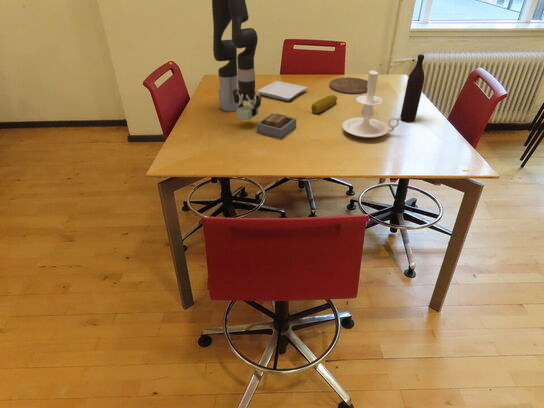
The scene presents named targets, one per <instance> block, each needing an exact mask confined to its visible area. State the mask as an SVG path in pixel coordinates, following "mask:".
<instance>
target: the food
mask: <svg viewBox="0 0 544 408" xmlns="http://www.w3.org/2000/svg"><path fill="white" fill-rule="evenodd" d="M337 100H338V97H337V96H336V95H335V94H334V95H333V94H332V95H326V96H325V97H323V98H320V99H318V100H316V101H314V102H313V103H312V104H311V107H310V108H311V112H312V113H313V114H320V113H322V112H323V111H325V110H327V109H329V108H330V107H331V106H333V105H334V104H336V103H337Z"/></svg>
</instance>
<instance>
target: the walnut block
mask: <svg viewBox="0 0 544 408" xmlns="http://www.w3.org/2000/svg"><path fill="white" fill-rule="evenodd" d="M287 117H288V115H285V114H281V113H278V112H277V113H276V112H275V113H274V115H272V116H271V117H269V118H268V119H266V125H268V126H272V127H276V128H280V129H281V128H282V127H283V126H285V125H286V124H287Z"/></svg>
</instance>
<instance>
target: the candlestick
mask: <svg viewBox="0 0 544 408" xmlns="http://www.w3.org/2000/svg"><path fill="white" fill-rule="evenodd" d="M378 75H379V72H378V71H376V70H368V76H367V81H368V85H367V88H368V90H367V93H366V94H364V95H363V94H361V95H358V96H357V97H356V98H355V101H357V102H358V103H360V104H362V105H364V106H363V107H362V108H361V110H360V115H361V117H352V118H347V119H346V120H345V121H343V122H342V124H341V127H342V128H343V131H345V132H347V133H348V134H351V136H354V137H357V138H363V139H374V138H377V137H381V136H384V135H386V134H388V133H389V132H393V131H394V130H395V128H397V127H398V126H399V124H400V121H399V120H401V118H400V116H399V117H391V118H389V119H388V121H387V124H386V122H383V121H381V120H379V119H377V118H376V119H375V118H373V117H374V115H375V110H374V107H373V106H375V105H380V104H383V102H384V100H383V99H382V97H379V96H377V95H376V89H377V82H378ZM393 120H395V121H396V124H395V125H392V124H390V122H391V121H393ZM390 128H391V129H390Z"/></svg>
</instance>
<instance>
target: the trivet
mask: <svg viewBox="0 0 544 408" xmlns="http://www.w3.org/2000/svg"><path fill="white" fill-rule="evenodd" d="M367 85H368V79H363V78H360V77H359V78H358V77H339V78H335V79H331V80H330V81H329V85H328V86H329V88H330V89H331V90H332V91H334V92H337V93H339V94H343V95H344V94H345V95H363V93H364V94H367V90H368V88H367Z"/></svg>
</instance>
